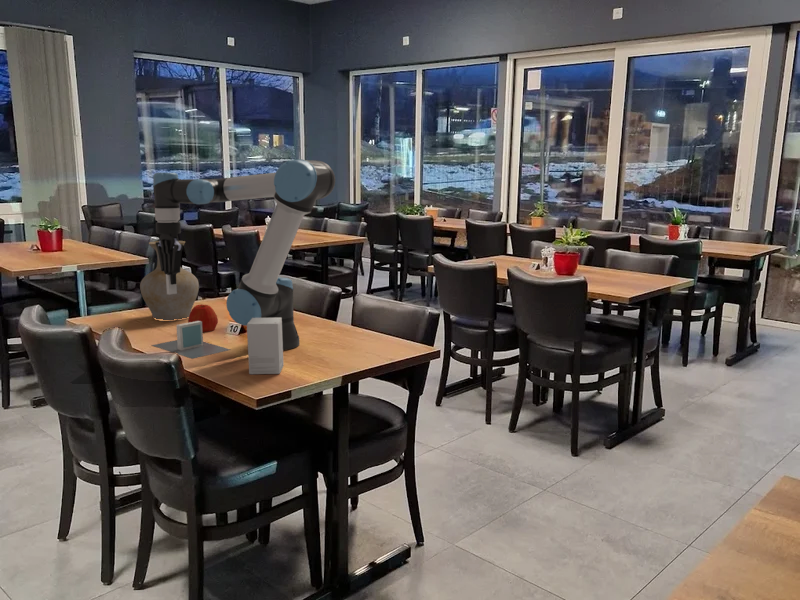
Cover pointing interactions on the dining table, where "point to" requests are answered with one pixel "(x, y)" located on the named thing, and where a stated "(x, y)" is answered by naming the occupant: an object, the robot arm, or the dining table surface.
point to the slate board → (192, 349)
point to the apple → (204, 317)
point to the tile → (189, 335)
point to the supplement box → (265, 345)
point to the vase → (164, 303)
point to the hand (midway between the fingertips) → (171, 293)
